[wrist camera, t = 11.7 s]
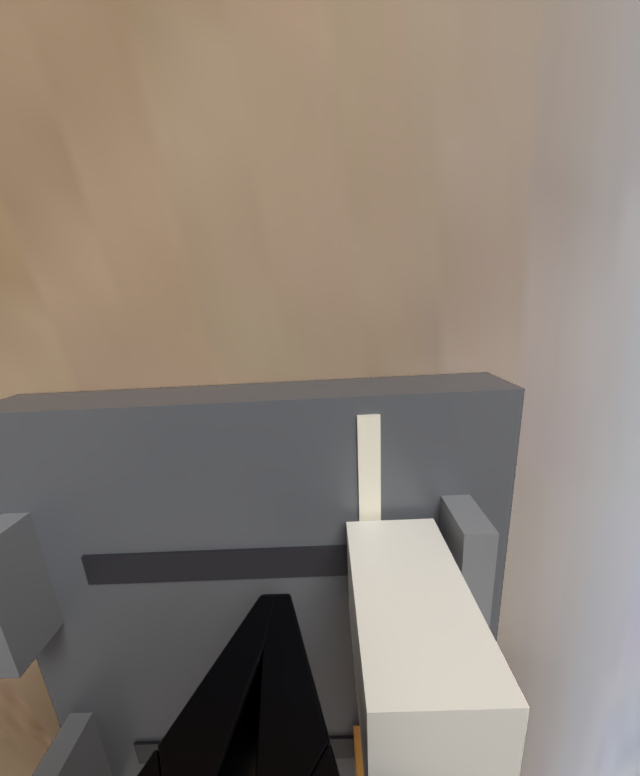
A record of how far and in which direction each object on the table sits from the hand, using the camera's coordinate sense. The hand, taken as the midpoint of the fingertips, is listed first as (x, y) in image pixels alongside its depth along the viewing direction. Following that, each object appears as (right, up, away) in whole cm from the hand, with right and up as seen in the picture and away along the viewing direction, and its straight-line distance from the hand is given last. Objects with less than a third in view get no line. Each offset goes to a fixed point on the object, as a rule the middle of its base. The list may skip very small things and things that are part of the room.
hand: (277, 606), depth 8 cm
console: (-1, -3, +5) cm, 6 cm away
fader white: (+3, 0, +1) cm, 3 cm away
